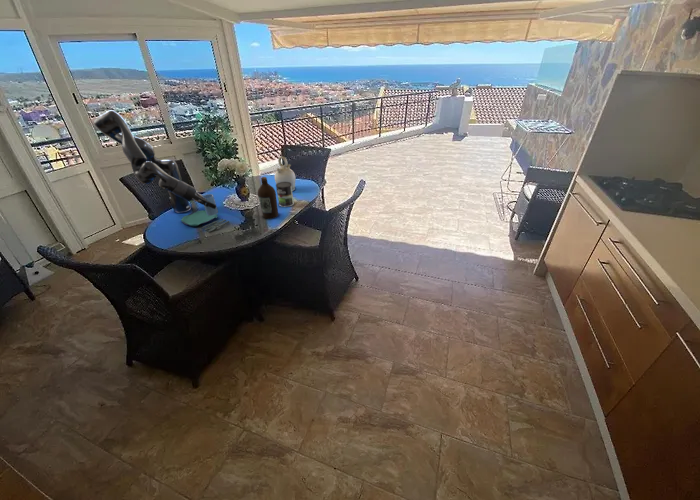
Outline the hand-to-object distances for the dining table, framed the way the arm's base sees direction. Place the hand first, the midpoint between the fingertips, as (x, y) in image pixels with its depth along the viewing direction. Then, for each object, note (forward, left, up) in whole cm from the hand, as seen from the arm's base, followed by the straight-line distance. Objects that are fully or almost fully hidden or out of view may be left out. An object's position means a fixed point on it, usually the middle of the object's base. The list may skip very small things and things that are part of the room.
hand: (213, 205), depth 160 cm
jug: (+13, +68, -17) cm, 72 cm away
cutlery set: (-17, +9, -17) cm, 26 cm away
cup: (-1, -1, -4) cm, 5 cm away
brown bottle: (+20, +24, -17) cm, 36 cm away
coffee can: (+23, +43, -17) cm, 52 cm away
